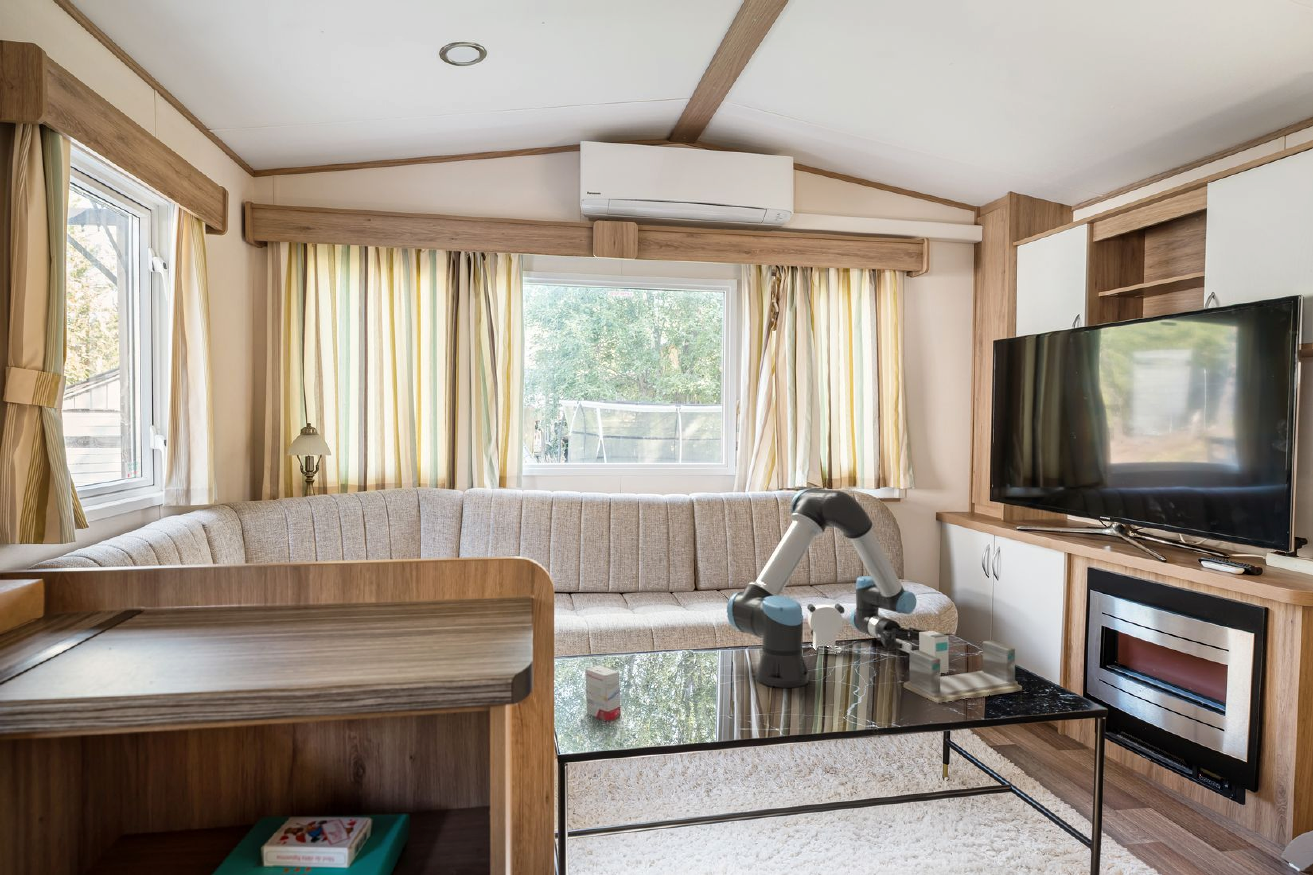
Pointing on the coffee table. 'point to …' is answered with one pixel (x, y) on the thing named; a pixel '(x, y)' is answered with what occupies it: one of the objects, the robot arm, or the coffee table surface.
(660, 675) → the coffee table surface
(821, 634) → the panda figurine
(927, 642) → the block
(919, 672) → the board
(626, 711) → the coffee table surface
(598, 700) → the ink box
